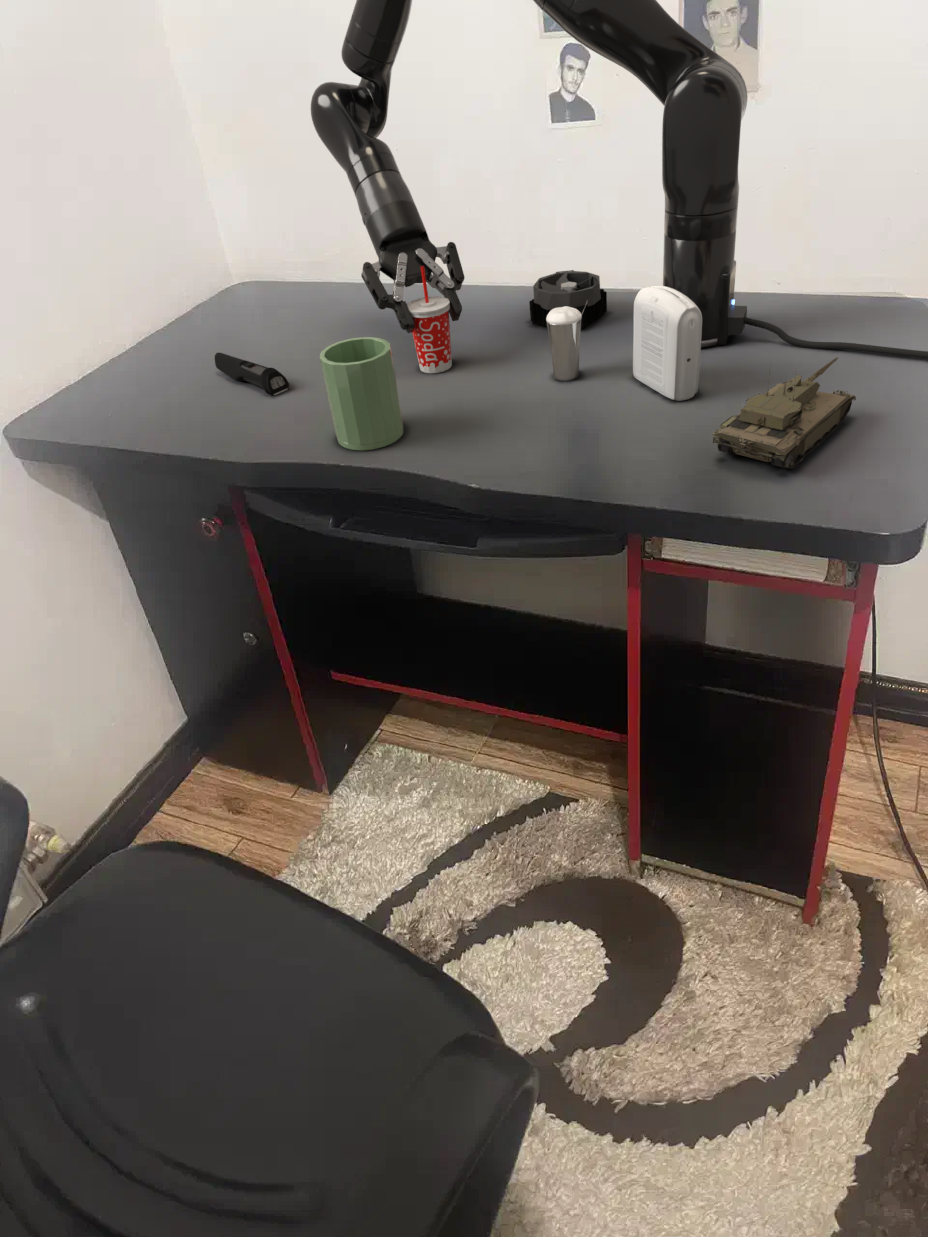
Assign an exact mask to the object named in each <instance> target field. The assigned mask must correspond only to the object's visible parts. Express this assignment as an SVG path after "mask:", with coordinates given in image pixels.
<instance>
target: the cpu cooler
mask: <svg viewBox="0 0 928 1237" xmlns="http://www.w3.org/2000/svg"><path fill="white" fill-rule="evenodd" d="M600 280H601V279H600V275H598V274H595V273H592V272H588V271H581V270H580V271H579V270H574V269H571V270H570V269H569V270H560V271H556V272H553V273H552V274H548V275H545V276H542V277H539V278H538V279H537V281H536V282H535V283H534V284H533V285H532V286H533V290H532V291H533V298H532V299H531V300H529V302H528V303H529V315H530V316H529V317H530V322H531V324H532V325H538V326H544V327H547V321H546V317H547V315H548V313H549V312H550V311H551V310H552V309H554V308H558V307H564V306H568V307H572V308H575V309H577V310H578V311H579V312H580V313H581V315H582V317H581V330H582V329H585V327H587V326H588V325H590V324H592V323H593V322H594V321H596V320H597V319H598V318H600V317H601V316H603V315H605V313H607V312H608V299H607V298H608V296H607V291H605V289H604V288H601V281H600ZM587 300H588V301H587ZM586 302H587V304H586ZM585 305H586V306H585ZM584 307H585V309H584ZM583 310H584V311H583ZM582 312H583V314H582Z"/></svg>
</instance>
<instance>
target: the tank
mask: <svg viewBox="0 0 928 1237" xmlns="http://www.w3.org/2000/svg"><path fill="white" fill-rule="evenodd" d="M838 359H839V357H838V356H837V357H834V358H833V359H832V360H831V361H829V362H828V363H826V364H825V365H824V366H823V367H821V368H820V369H819V368H818V369H817V370H816V371H814V372H813V373H812V375H810V376H808V377H807V378H806V379H804V380H802V374H797V373H796V375H795V377H792V378H791V379H789V380H786V381H784V382H780V383H779V382H778V383H776V384H774V386H772V387H771V388H770V389H767V391H766V392H764V394H763V393H758V394H757V395H756V394H755V395H754V396H751V397H749V398H747V399H746V400H745V405H744V406H743V407H742V408H741V409H740V412H738V413H737V414H736V415H735V414H734V415H732V416H730V417H729V418H727V419H726V420H724V422H722V423H721V424H720V425H719V427H718V429H717V430H715V431H714V432H713V433H711V435H712V438H713V439H712V444H717V451H718V452H721V453H724V454H730V455H734V456H735V455H736V456H743V457H747V458H750V459H754V460H758V461H762V462H766V463H770V465H772V466H775V467H780V468H783V469H791V470H793V469H795V467H797V465H799V464H800V463H802V461H803V460H804V459H806V457H808V456H809V455H810V454H811V453H812V452H814V450H815V449H816V448H818V447H819V446H820V445H821V444H822V443H823V442H824V441H825V440H826V439H827V438H829V437H830V436H831V435H832V434H833V433H834V432H835V431H836V430H838V428H839V427H841V425H842V424H843V422H844V420H845V419H846V417H847V415H848V414H849V412H850V410H851V408H852V404H853V402H854V401H857V396H856V395H855V394H851V393H848V390H846V391H844V390H842V389H837V390H833V391H832V392H822V391H819V389H820V386H821V384H820V383H818V382H817V381H815V380H816V379H817V378H818V377H820V376H821V375H823V374H824V373H825V372H826V371H827V370H828V369H829V368H830V367H831V366H832V365H833V364H834V363H835V362H836V361H837V360H838ZM770 364H771V361H770ZM795 371H797V368H796V370H795ZM770 372H771V370H769V372H768V374H769V375H770ZM769 384H770V380H768V381H767V385H769Z"/></svg>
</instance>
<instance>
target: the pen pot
mask: <svg viewBox="0 0 928 1237" xmlns="http://www.w3.org/2000/svg"><path fill="white" fill-rule="evenodd" d="M319 362H320V367H321V371H322V376H323V381H324V386H325V389H326V395H327V400H328V405H329V409H330V413H331V418H332V423H333V428H334V433H335V437H336V439H337V443H338V444H339V445H340V446H341V447H342V448H345V449H348V450H352V451H371V450H372V451H373V450H377V449H382V448H385V447H388V446H390V445H392V444H394V443H396V442H397V441H398V440H399V439H400V438H401V437H402V436H403V434H404V432H405V428H404V418H403V413H402V409H401V408H402V407H401V402H400V395H399V390H398V383H397V377H396V371H395V364H394V358H393V352H392V346H391V343H390V342H389V341H388V340H386V339H383V338H379V337H376V336H373V337H372V336H361V337H353V338H347V339H344V340H340V341H337V342H335V343H332V344H330V345H328V346H327V347H325V348H324V349H323V350H322V351H320V355H319Z"/></svg>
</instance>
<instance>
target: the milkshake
mask: <svg viewBox="0 0 928 1237" xmlns="http://www.w3.org/2000/svg"><path fill="white" fill-rule="evenodd" d="M587 301H588V300H587ZM586 304H587V302H586ZM585 306H586V305H585ZM584 309H585V307H584ZM583 311H584V310H583ZM582 314H583V312H582ZM581 317H582V315H581V313H580V312H579V311H578V310H577V309H575V308H572V307H568V306H564V307H558V308H554V309H552V310H551V311H550V312H549V313H548V315H547V317H546V321H547V326H546V328H547V333H548V334H547V335H548V341H549V347H550V348H549V349H550V355H551V363H552V373H553V376H554V379H555V380H557V381H560V382H567V381H568V382H570V381H573V380H575V379H577V378H578V377H579V375H580V374H579V373H580V370H579V369H580V352H581V351H580V350H581V332H582V331H581V330H582V328H581Z"/></svg>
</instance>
